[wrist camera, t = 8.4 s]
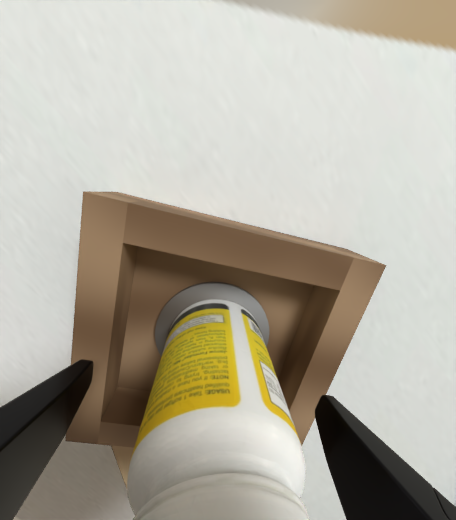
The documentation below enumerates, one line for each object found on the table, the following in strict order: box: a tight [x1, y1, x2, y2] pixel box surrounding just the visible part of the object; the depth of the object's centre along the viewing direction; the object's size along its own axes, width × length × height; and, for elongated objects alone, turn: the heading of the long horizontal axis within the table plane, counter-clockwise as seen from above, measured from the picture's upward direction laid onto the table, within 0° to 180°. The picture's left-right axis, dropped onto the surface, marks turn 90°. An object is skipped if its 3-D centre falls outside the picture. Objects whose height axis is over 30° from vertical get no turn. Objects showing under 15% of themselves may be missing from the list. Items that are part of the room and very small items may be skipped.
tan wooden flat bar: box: [111, 445, 134, 488], centre depth 15 cm, size 8×2×1 cm, turn 6°
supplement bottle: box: [127, 299, 310, 520], centre depth 8 cm, size 5×5×8 cm
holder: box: [66, 192, 386, 448], centre depth 11 cm, size 12×12×3 cm
